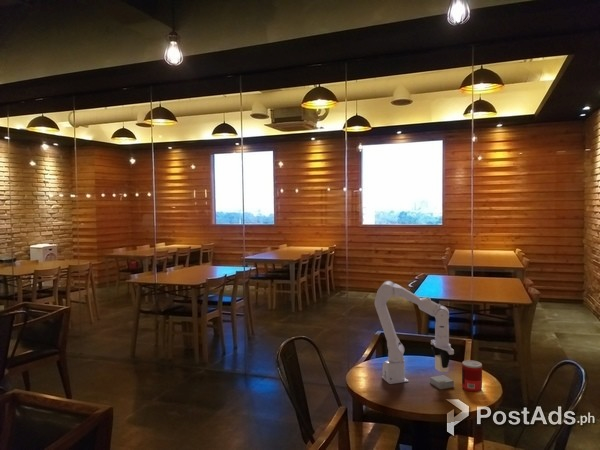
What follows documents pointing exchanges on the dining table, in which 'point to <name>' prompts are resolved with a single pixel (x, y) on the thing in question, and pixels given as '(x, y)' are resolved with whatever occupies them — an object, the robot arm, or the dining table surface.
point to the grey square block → (441, 382)
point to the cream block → (439, 364)
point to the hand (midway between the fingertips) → (441, 365)
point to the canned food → (472, 376)
